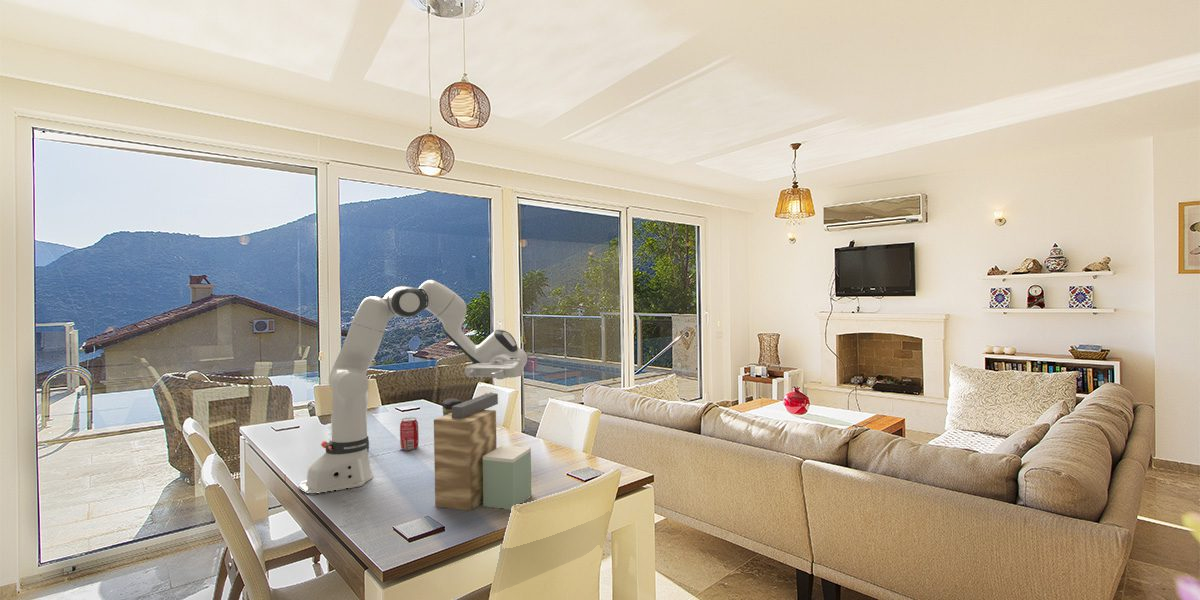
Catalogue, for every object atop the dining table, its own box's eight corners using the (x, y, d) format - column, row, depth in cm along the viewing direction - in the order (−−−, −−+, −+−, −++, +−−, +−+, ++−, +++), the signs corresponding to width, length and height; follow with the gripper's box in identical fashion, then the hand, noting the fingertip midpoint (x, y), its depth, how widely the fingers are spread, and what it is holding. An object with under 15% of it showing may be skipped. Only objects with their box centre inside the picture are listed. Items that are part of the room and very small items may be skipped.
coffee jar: (467, 443, 233) (466, 399, 232) (448, 447, 228) (447, 401, 228) (458, 438, 241) (458, 395, 240) (440, 441, 236) (440, 398, 236)
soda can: (412, 444, 232) (411, 416, 232) (422, 447, 227) (421, 418, 227) (396, 448, 226) (396, 419, 226) (406, 452, 222) (405, 422, 222)
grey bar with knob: (461, 418, 166) (461, 404, 166) (451, 418, 168) (451, 404, 167) (497, 403, 187) (497, 391, 187) (488, 403, 188) (488, 390, 188)
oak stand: (470, 510, 163) (468, 422, 162) (435, 505, 167) (433, 419, 166) (497, 491, 178) (495, 410, 177) (464, 487, 182) (463, 408, 181)
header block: (513, 510, 163) (512, 459, 162) (483, 506, 166) (482, 456, 166) (531, 495, 174) (530, 447, 174) (502, 492, 177) (502, 445, 177)
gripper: (476, 358, 212) (455, 366, 199) (524, 358, 205) (506, 367, 192) (477, 374, 212) (457, 383, 199) (525, 375, 206) (507, 385, 193)
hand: (481, 375), depth 196 cm, fingers open, 8 cm apart
